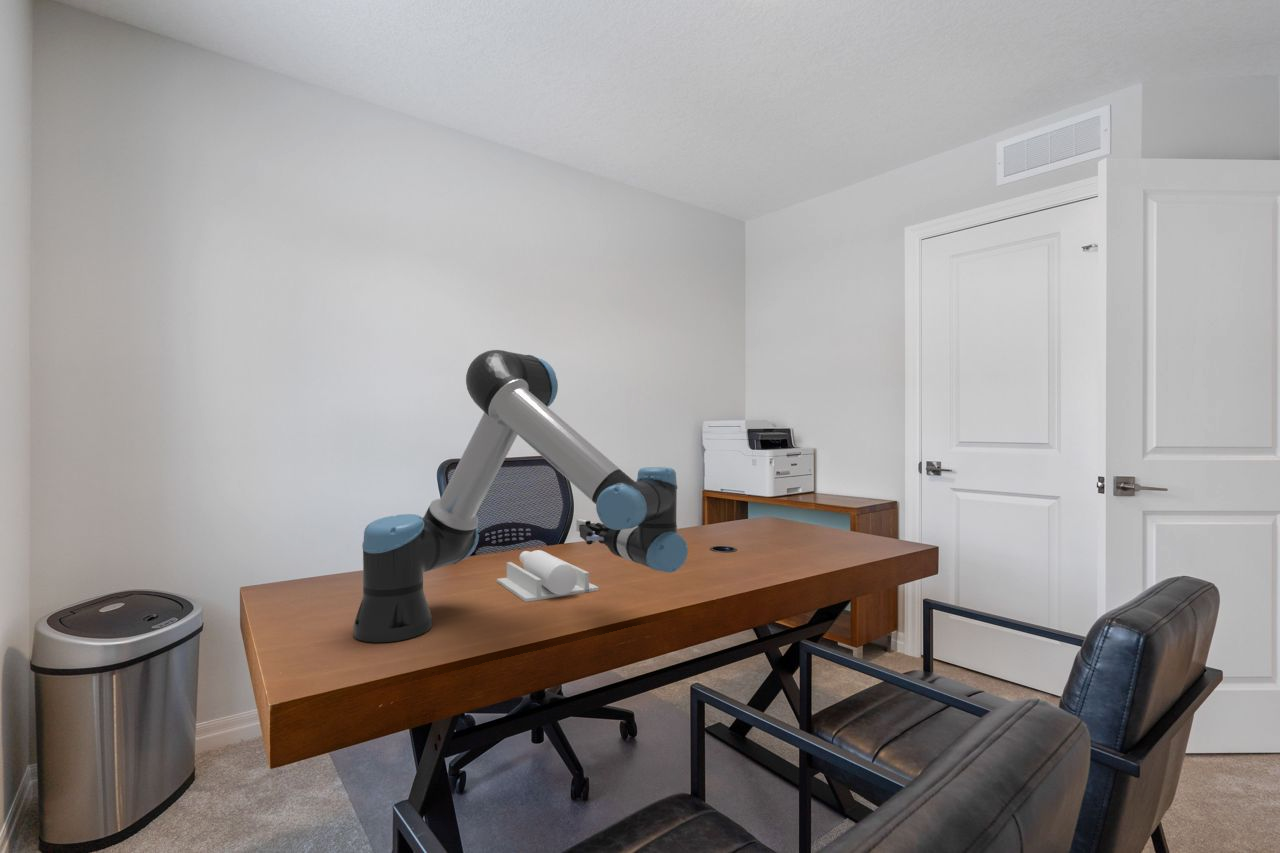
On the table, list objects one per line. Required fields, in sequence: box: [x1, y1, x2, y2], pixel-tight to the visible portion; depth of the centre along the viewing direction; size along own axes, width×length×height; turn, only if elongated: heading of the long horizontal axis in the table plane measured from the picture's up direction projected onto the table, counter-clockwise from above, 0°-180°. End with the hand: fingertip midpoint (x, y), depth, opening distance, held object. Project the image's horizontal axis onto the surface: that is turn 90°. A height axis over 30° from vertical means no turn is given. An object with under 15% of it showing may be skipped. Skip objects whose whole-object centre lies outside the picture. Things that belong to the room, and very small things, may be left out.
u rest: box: [496, 556, 600, 603], centre depth 159 cm, size 22×20×5 cm
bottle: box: [518, 549, 577, 595], centre depth 161 cm, size 8×8×30 cm
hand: (579, 524), depth 142 cm, fingers closed
